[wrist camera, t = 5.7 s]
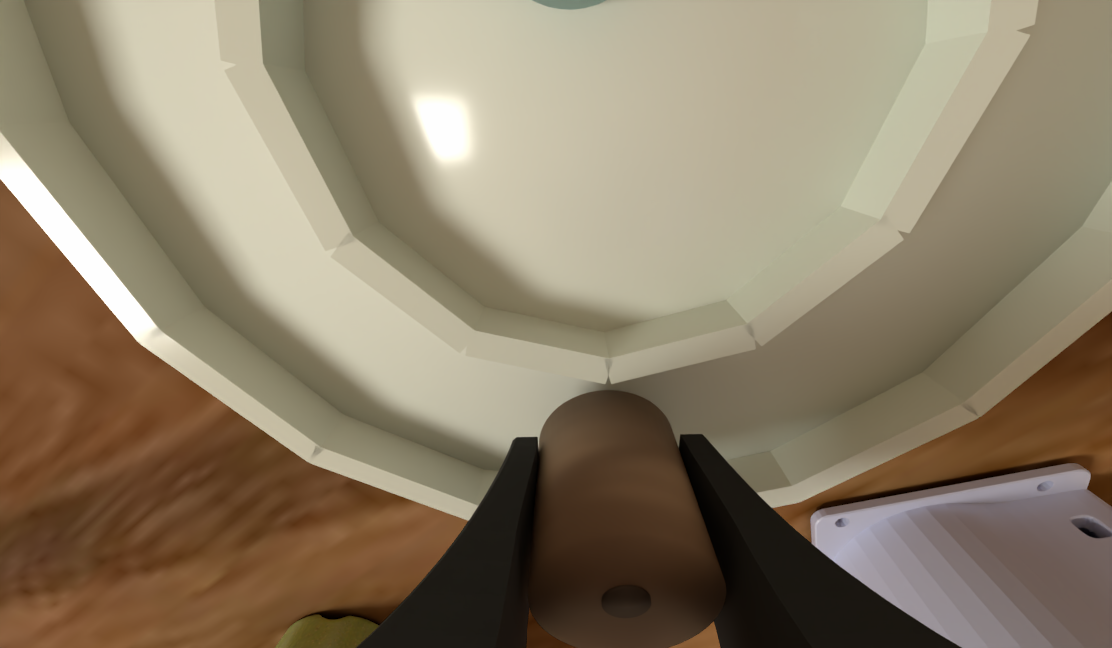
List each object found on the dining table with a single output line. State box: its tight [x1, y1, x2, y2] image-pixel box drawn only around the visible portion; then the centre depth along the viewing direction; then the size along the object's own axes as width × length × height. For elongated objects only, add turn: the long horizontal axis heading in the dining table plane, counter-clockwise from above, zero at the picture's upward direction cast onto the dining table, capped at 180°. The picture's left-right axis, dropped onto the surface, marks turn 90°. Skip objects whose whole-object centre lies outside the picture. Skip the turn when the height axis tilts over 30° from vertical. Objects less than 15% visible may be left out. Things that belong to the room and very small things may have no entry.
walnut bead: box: [528, 390, 726, 648], centre depth 11 cm, size 4×4×5 cm
